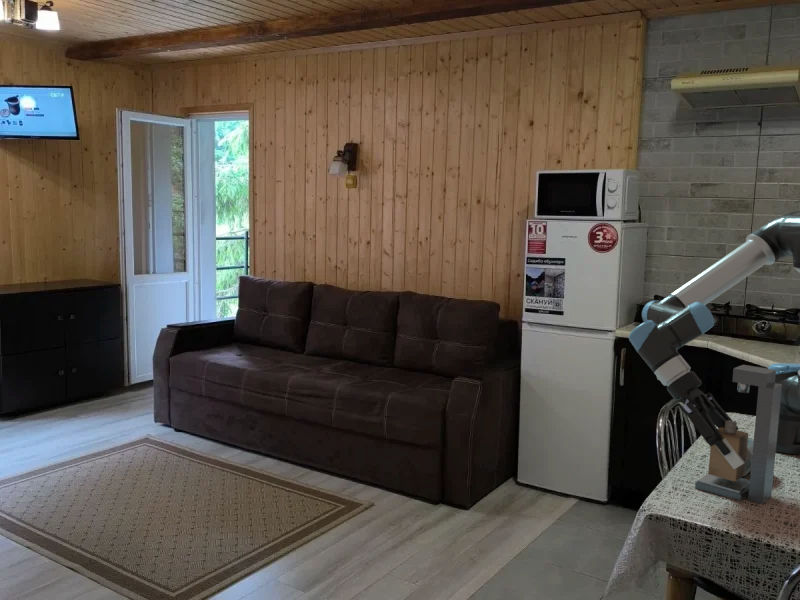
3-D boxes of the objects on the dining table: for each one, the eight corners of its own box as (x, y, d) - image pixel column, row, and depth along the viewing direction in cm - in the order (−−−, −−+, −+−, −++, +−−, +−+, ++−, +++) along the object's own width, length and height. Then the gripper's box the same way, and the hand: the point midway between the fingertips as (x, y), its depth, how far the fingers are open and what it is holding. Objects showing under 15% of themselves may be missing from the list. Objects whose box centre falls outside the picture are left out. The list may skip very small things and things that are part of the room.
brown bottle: (717, 467, 168) (722, 416, 166) (744, 474, 164) (749, 422, 162) (708, 474, 163) (712, 421, 162) (735, 481, 159) (740, 427, 158)
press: (711, 477, 171) (721, 359, 167) (774, 494, 161) (786, 369, 158) (695, 488, 164) (705, 365, 160) (759, 506, 154) (771, 376, 150)
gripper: (682, 381, 179) (745, 460, 170) (649, 394, 165) (715, 481, 156) (706, 364, 174) (771, 444, 165) (673, 376, 161) (743, 464, 152)
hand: (744, 462), depth 161 cm, fingers closed on brown bottle, 6 cm apart
